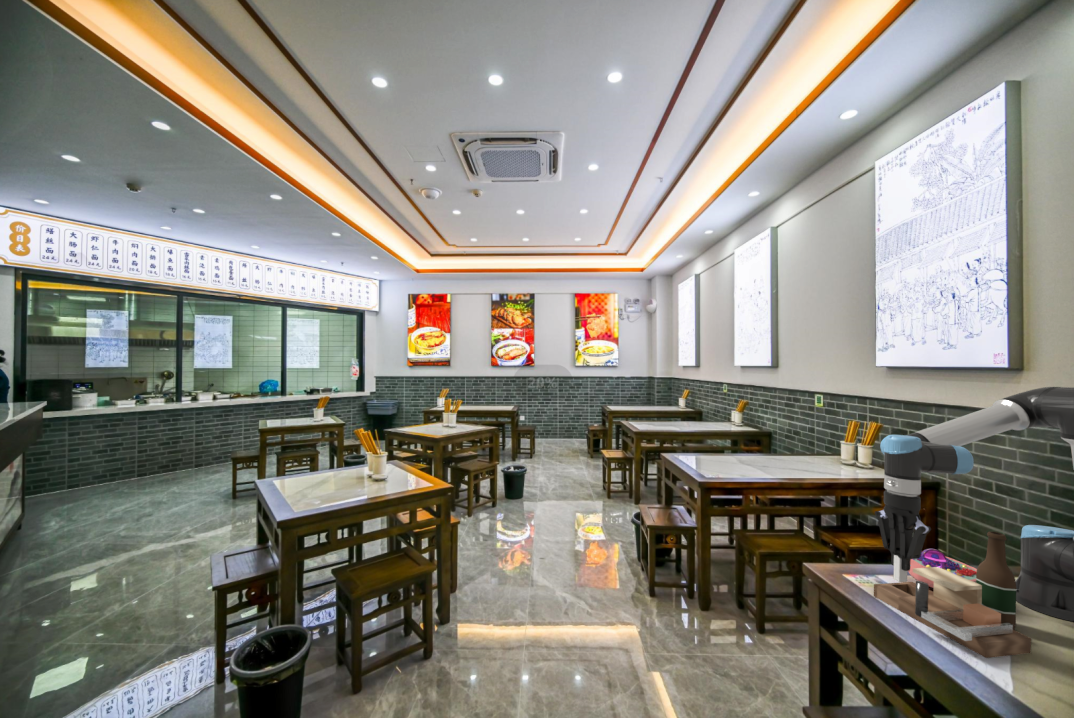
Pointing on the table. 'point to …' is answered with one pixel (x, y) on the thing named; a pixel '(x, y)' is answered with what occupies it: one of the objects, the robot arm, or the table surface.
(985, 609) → the block
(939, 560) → the cell model
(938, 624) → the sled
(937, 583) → the tunnel
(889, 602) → the base
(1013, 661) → the table surface
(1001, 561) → the beer bottle
